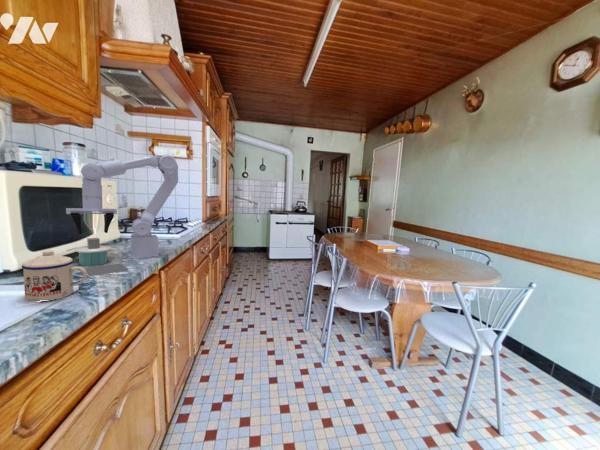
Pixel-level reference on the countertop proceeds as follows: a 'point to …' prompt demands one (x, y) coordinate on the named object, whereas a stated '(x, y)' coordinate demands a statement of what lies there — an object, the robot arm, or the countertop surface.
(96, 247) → the lid
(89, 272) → the mat
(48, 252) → the teacup with lid
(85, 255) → the bowl
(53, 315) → the countertop surface
